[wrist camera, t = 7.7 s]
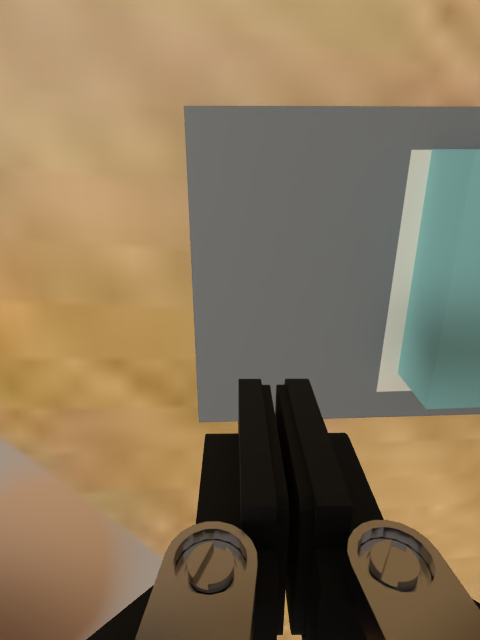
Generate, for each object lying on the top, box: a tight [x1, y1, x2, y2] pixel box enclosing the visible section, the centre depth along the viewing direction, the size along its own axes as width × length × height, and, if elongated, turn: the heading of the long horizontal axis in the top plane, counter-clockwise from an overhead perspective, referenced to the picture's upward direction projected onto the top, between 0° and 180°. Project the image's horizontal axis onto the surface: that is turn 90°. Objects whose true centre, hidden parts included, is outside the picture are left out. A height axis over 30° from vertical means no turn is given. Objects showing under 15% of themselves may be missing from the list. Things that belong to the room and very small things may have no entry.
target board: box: [184, 106, 480, 422], centre depth 19 cm, size 14×18×1 cm
